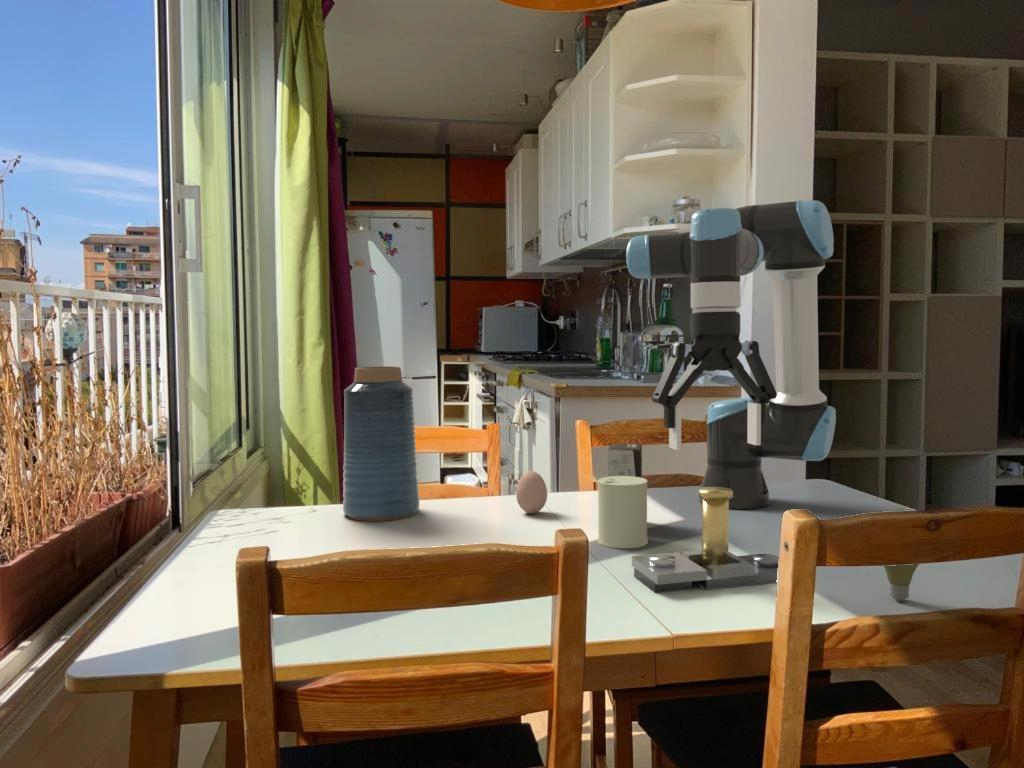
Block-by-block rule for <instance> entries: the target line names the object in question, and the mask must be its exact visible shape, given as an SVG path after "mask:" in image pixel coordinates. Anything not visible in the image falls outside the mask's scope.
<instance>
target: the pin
mask: <svg viewBox="0 0 1024 768" xmlns="http://www.w3.org/2000/svg"><path fill="white" fill-rule="evenodd" d="M698 497H701V498H702V503H701V504H702V505H701V506H702V507H701V508H702V512H701V513H702V517H701V519H702V526H701V527H702V529H701V530H702V534H701V536H702V538H701V540H702V542H701V543H702V545H701V547H702V548H701V549H702V568H704V569H706V570H707V566H710V565H721V564H728V552H729V542H730V541H729V540H730V539H729V537H730V536H729V533H730V532H729V531H730V530H729V526H730V525H729V523H730V522H729V521H730V519H729V518H730V516H729V515H730V513H729V512H730V511H729V510H730V508H729V499H731V498H733V490H732V489H729V488H724V487H703V488H700V487H699V488H698Z"/></svg>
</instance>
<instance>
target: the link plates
mask: <svg viewBox="0 0 1024 768" xmlns="http://www.w3.org/2000/svg"><path fill="white" fill-rule="evenodd" d="M682 553H683V555H682ZM682 553H679V552H677V551H676V552H667V553H654V554H646V555H645V554H644V555H634V556H631V567H633V576H634V578H635V579H636V580H638V582H639V581H640V583H642V584H643V585H644V586H646V587H647V588H648V589H650V590H651V591H653V592H654V593H665V592H672V591H673V592H674V591H682V590H684V591H685V590H692V583H693V582H694V583H696V584H698V585H699V586H700V587H702V588H703V589H705V590H706V591H707V590H716V589H728V588H737V587H747V586H756V585H766V584H776V580H777V568H778V559H779V560H780V557H779V556H778V555H774V554H769V553H757V554H755V553H754V554H746V555H744V554H743V555H735V554H734V553H732V552H730V551H728V564H721V565H710V566H707V570H706V569H704V568H702V550H691V551H683V552H682Z"/></svg>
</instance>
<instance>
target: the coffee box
mask: <svg viewBox="0 0 1024 768" xmlns="http://www.w3.org/2000/svg"><path fill="white" fill-rule="evenodd" d="M642 446H643V444H642V443H636V442H635V443H634V442H633V443H632V442H627V443H626V442H625V443H624V442H623V443H611V444H610V446H609V447H608V449H607V450H608V452H607V453H608V459H607V461H608V463H607V464H608V468H607V469H608V473H607V474H608V476H607V477H609V476H634V477H640V478H643V451H642V450H643V447H642Z"/></svg>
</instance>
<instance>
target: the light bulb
mask: <svg viewBox="0 0 1024 768" xmlns="http://www.w3.org/2000/svg"><path fill="white" fill-rule="evenodd" d="M919 565H920V563H919V564H913V565H896V566H883V568H884V569H885V572H886V578H887V580H888V582H889V584H890V585H889V586H890V588H889V589H890V590H889V591H890V592H889V594H890V596H891V597H892V598H893V599H894V600H895V601H896V602H903V601H905V600H906V599H908V598H909V596H910V593H909V592H910V585H911V582H912V579H913V575H914V573H915V572H916V570H917V568H918V566H919Z"/></svg>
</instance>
